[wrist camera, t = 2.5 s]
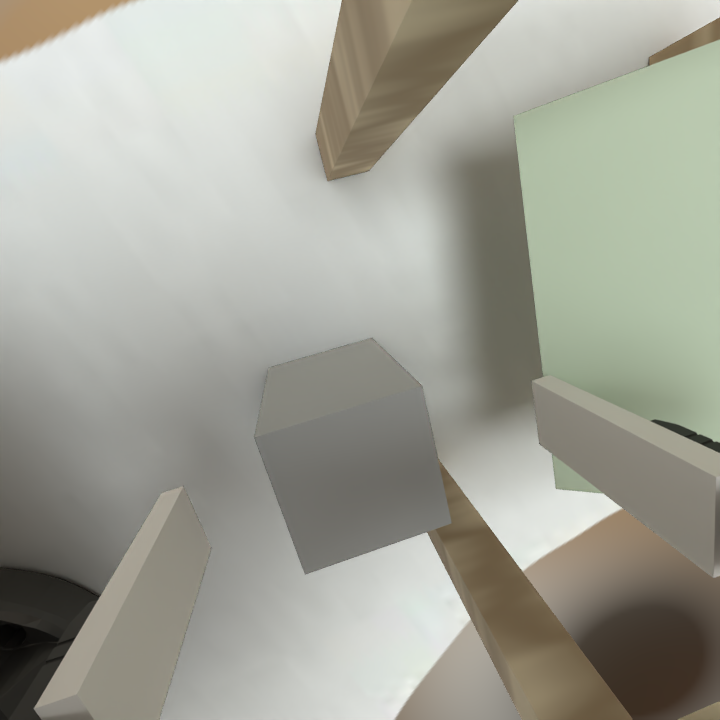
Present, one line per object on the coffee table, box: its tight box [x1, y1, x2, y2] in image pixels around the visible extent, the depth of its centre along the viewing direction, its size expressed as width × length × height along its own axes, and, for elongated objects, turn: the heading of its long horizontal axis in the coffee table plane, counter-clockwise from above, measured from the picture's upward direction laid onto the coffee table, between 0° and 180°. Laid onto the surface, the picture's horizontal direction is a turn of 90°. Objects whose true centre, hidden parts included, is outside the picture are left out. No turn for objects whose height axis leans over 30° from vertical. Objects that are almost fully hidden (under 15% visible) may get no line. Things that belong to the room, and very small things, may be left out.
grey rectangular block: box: [254, 338, 452, 574], centre depth 17 cm, size 6×6×8 cm
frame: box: [315, 0, 720, 720], centre depth 13 cm, size 19×19×16 cm
